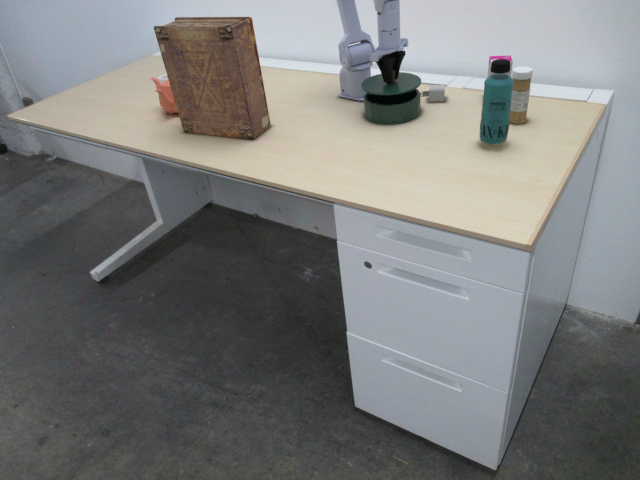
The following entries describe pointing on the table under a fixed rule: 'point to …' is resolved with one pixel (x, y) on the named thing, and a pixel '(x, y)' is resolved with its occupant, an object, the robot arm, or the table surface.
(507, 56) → the supplement box
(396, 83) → the lid
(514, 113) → the sprinkles bottle
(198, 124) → the book
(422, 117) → the table surface
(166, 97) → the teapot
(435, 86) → the usb wall charger
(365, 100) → the pot
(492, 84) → the beverage bottle
